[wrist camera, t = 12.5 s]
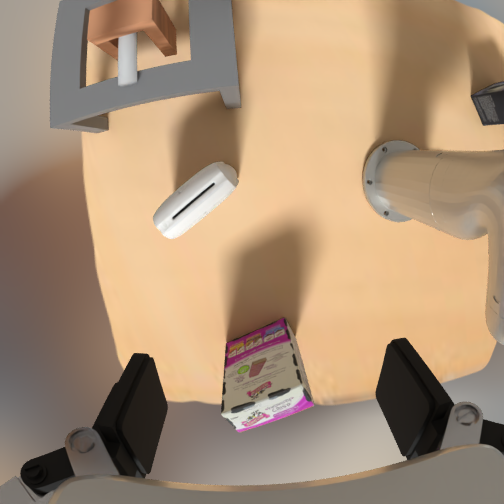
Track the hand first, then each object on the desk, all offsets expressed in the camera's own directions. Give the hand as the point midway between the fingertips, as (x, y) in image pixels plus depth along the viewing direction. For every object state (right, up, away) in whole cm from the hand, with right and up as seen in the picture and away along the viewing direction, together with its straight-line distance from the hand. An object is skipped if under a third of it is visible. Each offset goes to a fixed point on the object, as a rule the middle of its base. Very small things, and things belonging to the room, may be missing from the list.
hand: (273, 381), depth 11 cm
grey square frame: (-14, +33, +24) cm, 43 cm away
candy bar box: (+1, -10, +38) cm, 39 cm away
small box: (+44, +33, +25) cm, 61 cm away
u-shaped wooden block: (-14, +31, +19) cm, 39 cm away
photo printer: (-7, +13, +30) cm, 34 cm away
